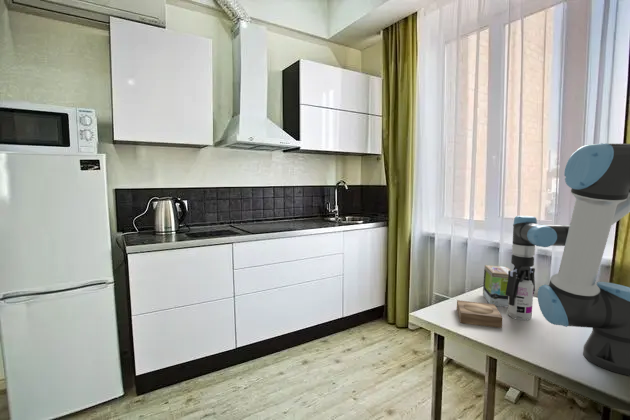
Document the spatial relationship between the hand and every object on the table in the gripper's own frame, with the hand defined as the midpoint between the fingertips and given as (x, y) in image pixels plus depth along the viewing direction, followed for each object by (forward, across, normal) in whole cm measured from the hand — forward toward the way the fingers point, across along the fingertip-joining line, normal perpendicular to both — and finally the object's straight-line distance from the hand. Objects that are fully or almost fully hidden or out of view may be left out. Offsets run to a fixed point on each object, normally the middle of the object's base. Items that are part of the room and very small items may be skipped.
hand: (519, 311), depth 130 cm
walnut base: (+2, +16, -6) cm, 18 cm away
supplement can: (+2, 0, 0) cm, 2 cm away
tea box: (+3, -9, -15) cm, 18 cm away
